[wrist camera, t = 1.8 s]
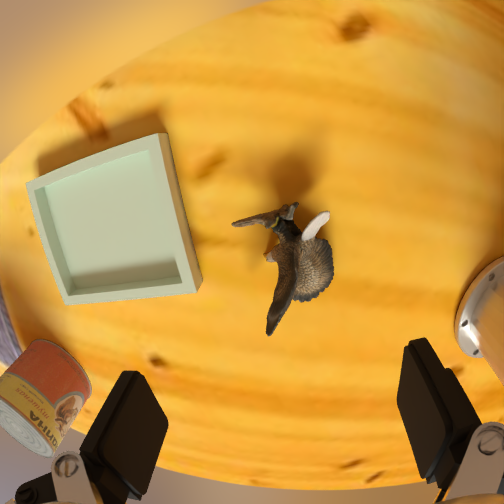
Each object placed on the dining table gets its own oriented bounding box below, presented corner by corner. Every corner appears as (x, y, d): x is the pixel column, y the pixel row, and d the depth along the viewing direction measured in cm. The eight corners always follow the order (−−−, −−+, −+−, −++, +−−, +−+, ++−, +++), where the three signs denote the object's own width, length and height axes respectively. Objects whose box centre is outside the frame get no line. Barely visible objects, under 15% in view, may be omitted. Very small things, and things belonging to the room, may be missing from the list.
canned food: (96, 409, 37) (63, 469, 25) (39, 382, 37) (1, 431, 26) (86, 356, 33) (37, 423, 21) (23, 327, 33) (-28, 378, 21)
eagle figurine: (213, 226, 24) (248, 330, 25) (249, 217, 18) (291, 355, 19) (293, 201, 27) (320, 295, 28) (345, 187, 20) (374, 306, 22)
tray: (167, 133, 23) (157, 133, 21) (202, 280, 27) (196, 292, 25) (39, 179, 25) (25, 183, 23) (76, 295, 29) (65, 305, 27)
